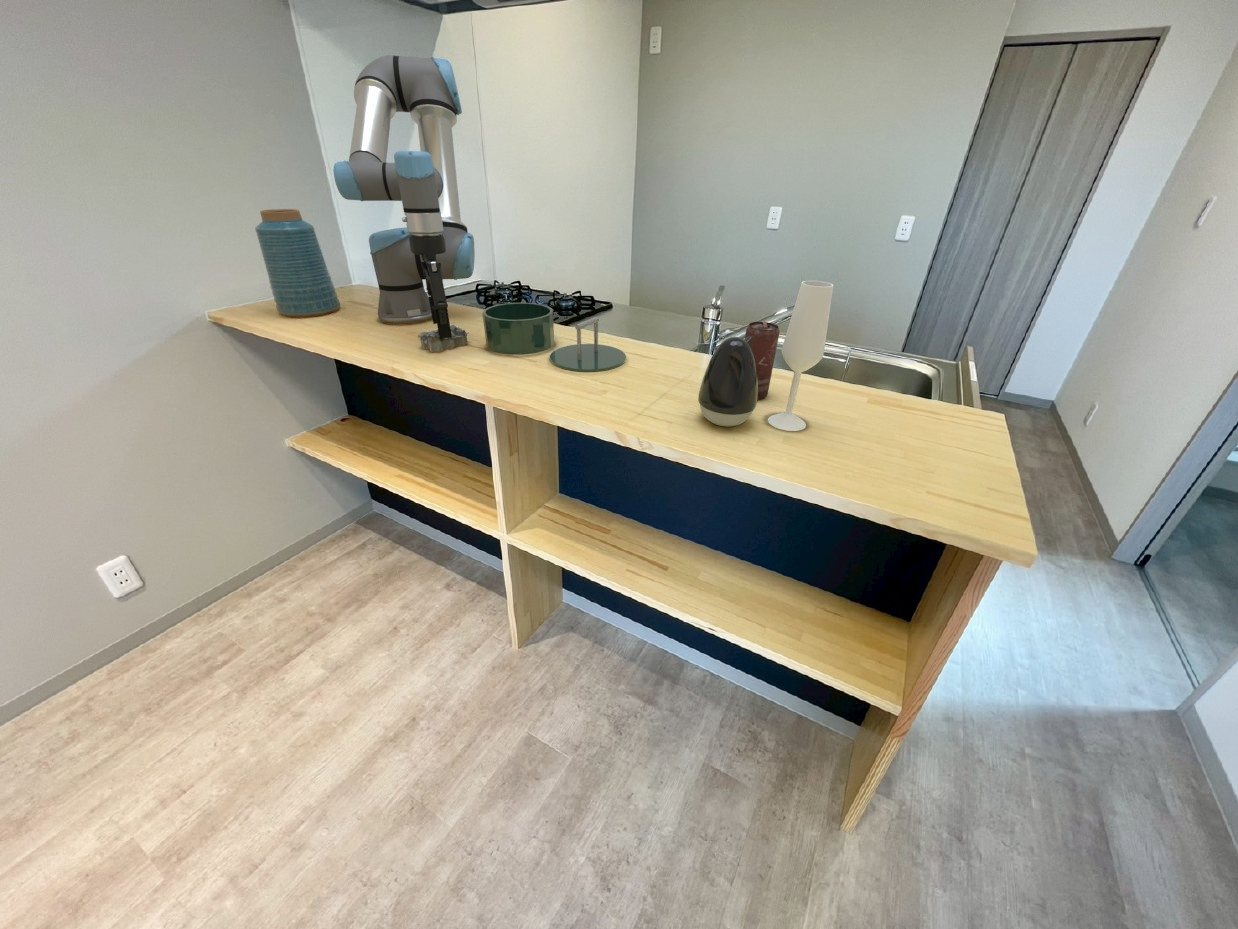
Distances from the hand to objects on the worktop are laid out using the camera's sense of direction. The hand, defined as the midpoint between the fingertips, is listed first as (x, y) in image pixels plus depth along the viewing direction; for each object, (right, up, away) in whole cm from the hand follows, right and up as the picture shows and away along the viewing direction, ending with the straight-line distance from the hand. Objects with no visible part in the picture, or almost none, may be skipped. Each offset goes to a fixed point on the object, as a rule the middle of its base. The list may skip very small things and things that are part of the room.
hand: (442, 330), depth 119 cm
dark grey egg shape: (+62, -25, -30) cm, 73 cm away
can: (+70, -18, -20) cm, 75 cm away
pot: (+19, -3, +4) cm, 19 cm away
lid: (+36, -8, -5) cm, 37 cm away
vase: (-49, +13, +27) cm, 57 cm away
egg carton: (0, -3, +3) cm, 4 cm away
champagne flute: (+73, -25, -30) cm, 83 cm away
